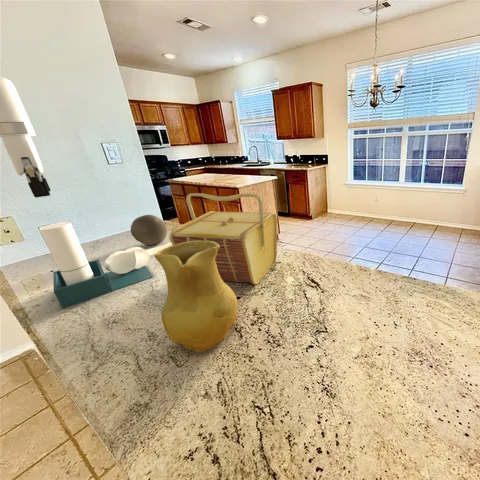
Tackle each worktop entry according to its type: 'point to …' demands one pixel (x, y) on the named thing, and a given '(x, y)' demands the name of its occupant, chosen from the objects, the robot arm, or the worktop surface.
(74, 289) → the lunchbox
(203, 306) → the pitcher
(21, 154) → the robot arm
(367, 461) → the worktop surface
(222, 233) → the picnic basket
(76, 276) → the cylindrical container
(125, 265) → the white long scooped piece
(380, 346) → the worktop surface
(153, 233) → the cantaloupe
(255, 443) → the worktop surface
